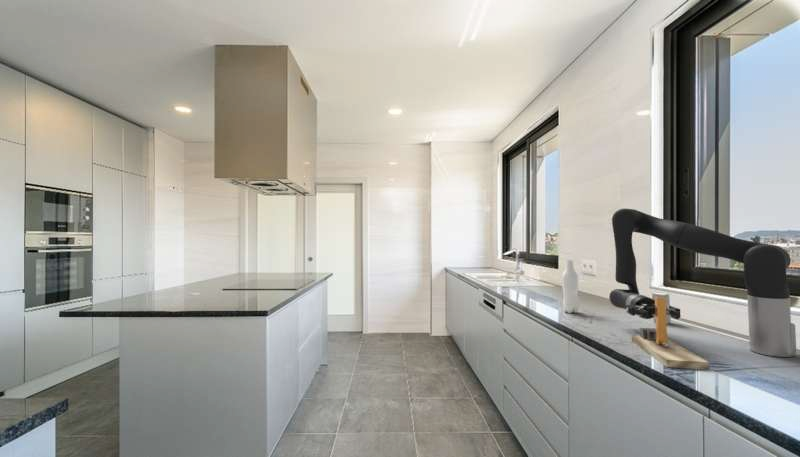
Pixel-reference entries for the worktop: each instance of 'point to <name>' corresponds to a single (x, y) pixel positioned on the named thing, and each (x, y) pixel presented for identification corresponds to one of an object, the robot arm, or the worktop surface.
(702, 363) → the rail board
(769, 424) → the worktop surface
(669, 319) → the skincare box
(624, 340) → the worktop surface
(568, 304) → the water bottle
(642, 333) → the gray rectangular block
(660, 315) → the upright wooden paddle
